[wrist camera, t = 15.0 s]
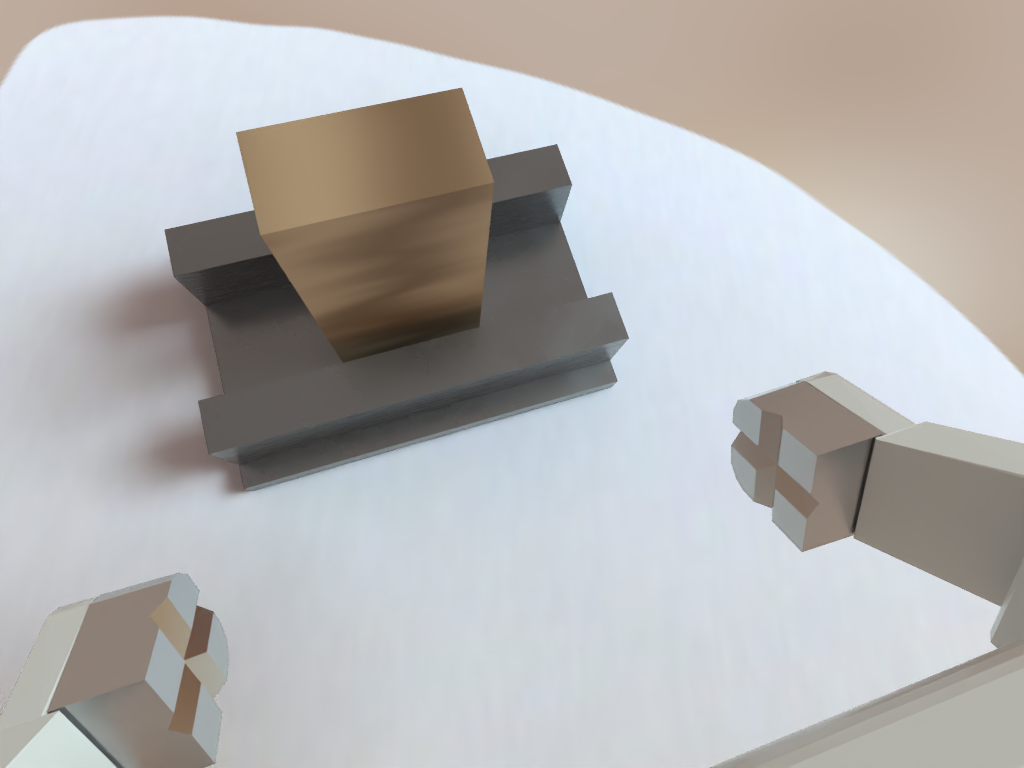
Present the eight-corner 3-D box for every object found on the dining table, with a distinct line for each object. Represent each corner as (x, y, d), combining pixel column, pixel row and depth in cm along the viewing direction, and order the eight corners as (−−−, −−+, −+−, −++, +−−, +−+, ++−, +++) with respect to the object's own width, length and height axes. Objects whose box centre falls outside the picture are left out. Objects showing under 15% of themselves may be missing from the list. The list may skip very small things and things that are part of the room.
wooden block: (343, 362, 25) (260, 235, 15) (326, 299, 26) (236, 132, 15) (479, 326, 26) (493, 182, 16) (460, 265, 27) (462, 87, 16)
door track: (252, 490, 25) (214, 482, 21) (202, 254, 27) (160, 207, 23) (611, 386, 27) (637, 361, 23) (537, 178, 29) (549, 124, 26)
